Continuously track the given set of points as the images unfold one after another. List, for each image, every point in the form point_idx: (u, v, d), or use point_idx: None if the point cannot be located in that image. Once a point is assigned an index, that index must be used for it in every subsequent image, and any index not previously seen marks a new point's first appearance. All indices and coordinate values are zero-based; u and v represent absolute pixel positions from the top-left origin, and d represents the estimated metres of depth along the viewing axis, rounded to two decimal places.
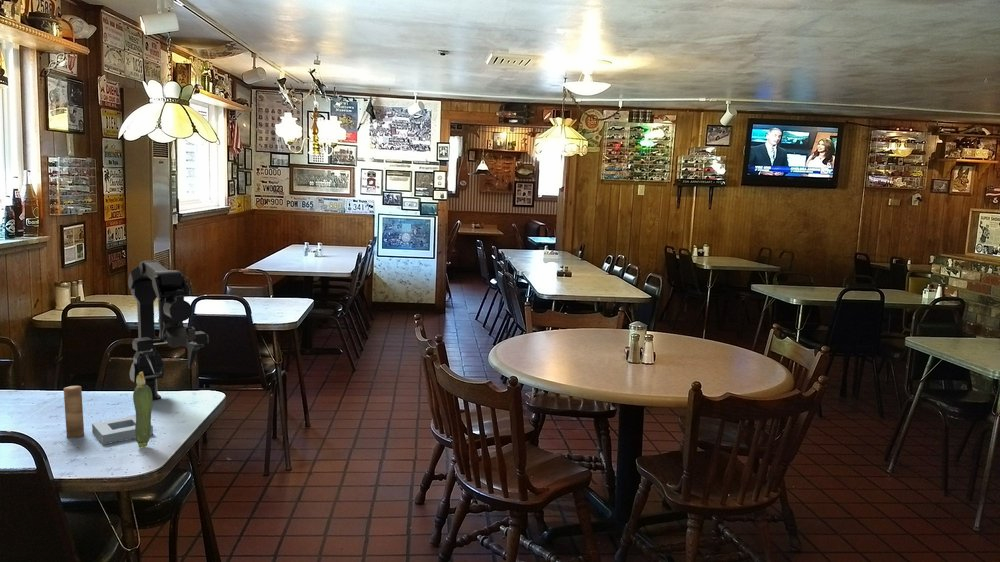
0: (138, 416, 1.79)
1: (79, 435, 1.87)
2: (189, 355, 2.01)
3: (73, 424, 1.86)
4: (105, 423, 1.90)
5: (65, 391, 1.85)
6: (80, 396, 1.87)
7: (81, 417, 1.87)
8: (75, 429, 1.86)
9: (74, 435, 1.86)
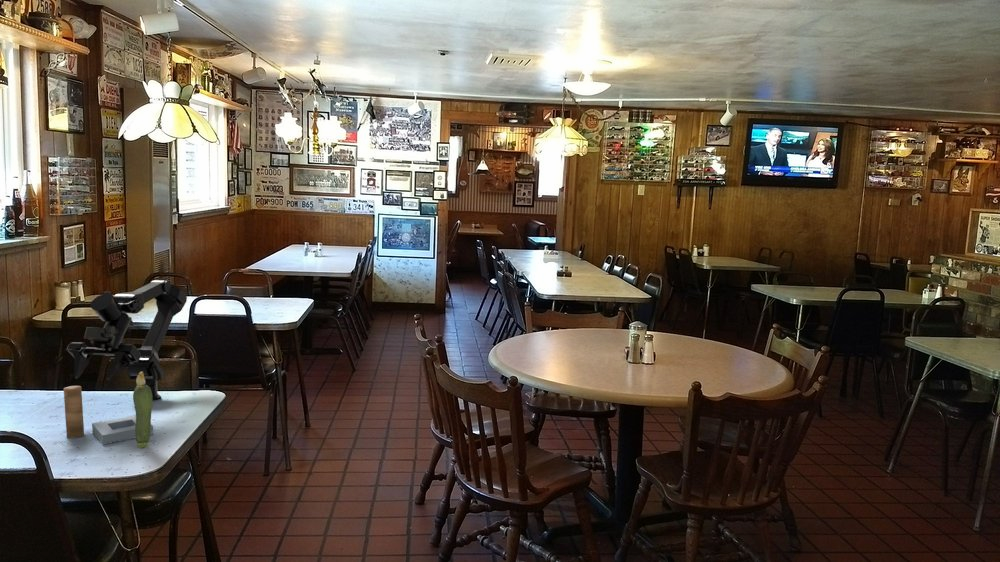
0: (138, 416, 1.79)
1: (79, 435, 1.87)
2: None
3: (73, 424, 1.86)
4: (105, 423, 1.90)
5: (65, 391, 1.85)
6: (80, 396, 1.87)
7: (81, 417, 1.87)
8: (75, 429, 1.86)
9: (74, 435, 1.86)
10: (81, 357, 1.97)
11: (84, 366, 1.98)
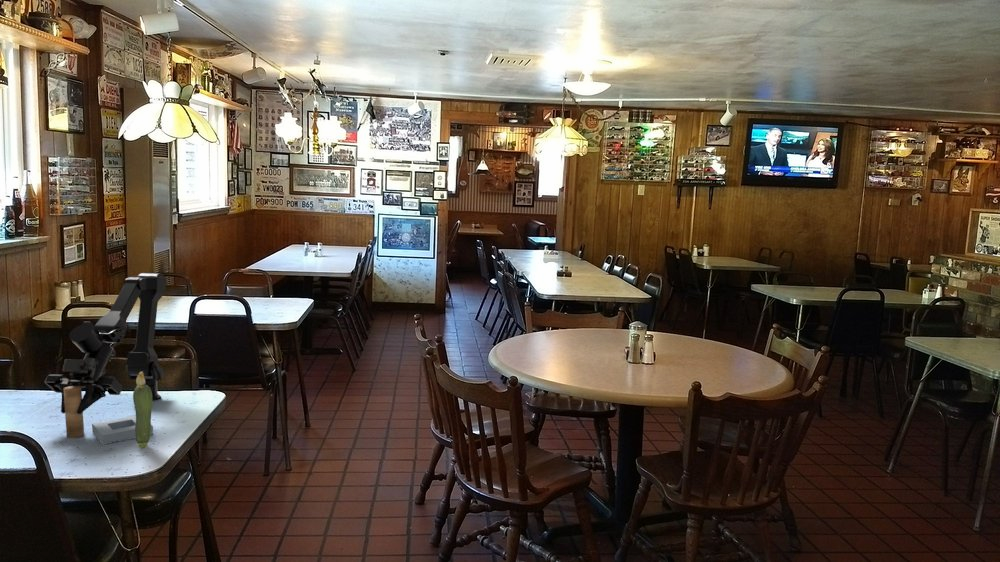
0: (138, 416, 1.79)
1: (79, 435, 1.87)
2: None
3: (73, 424, 1.86)
4: (105, 423, 1.90)
5: (65, 391, 1.85)
6: (80, 396, 1.87)
7: (81, 417, 1.87)
8: (75, 429, 1.86)
9: (74, 435, 1.86)
10: None
11: None
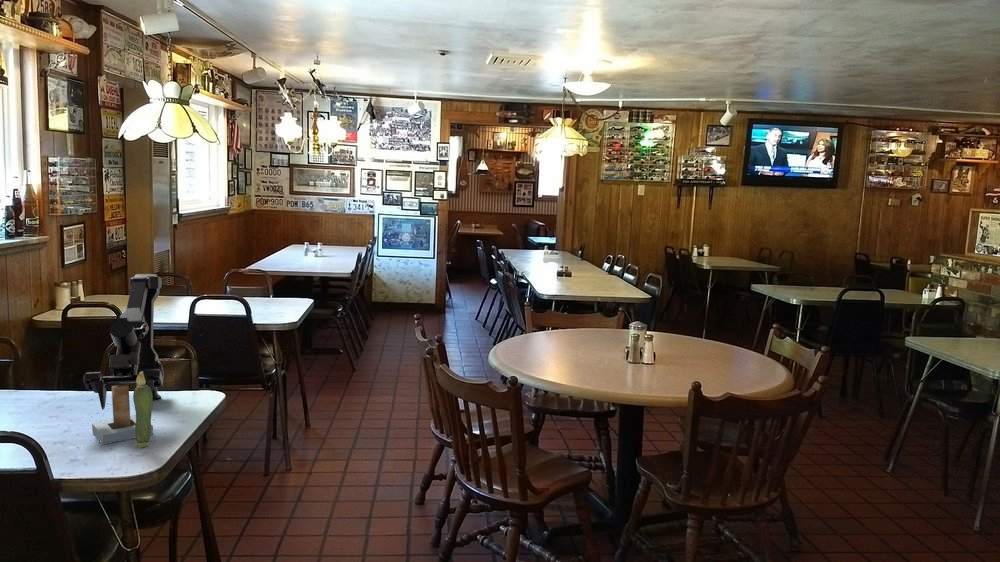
0: (138, 416, 1.79)
1: None
2: None
3: (123, 422, 1.88)
4: (105, 423, 1.90)
5: (115, 390, 1.87)
6: (128, 394, 1.90)
7: (129, 414, 1.90)
8: None
9: None
10: (103, 387, 1.89)
11: (105, 396, 1.90)
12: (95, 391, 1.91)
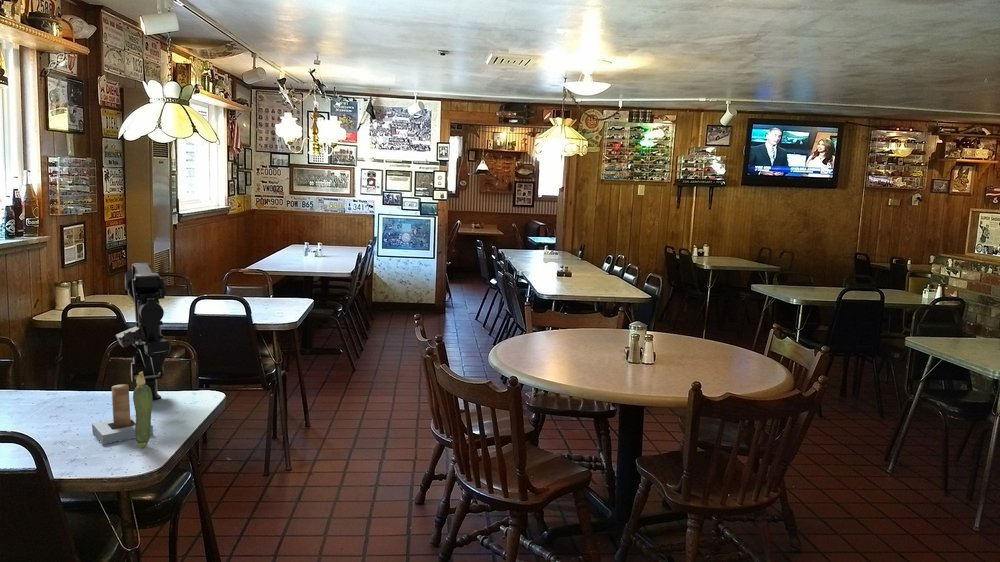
0: (138, 416, 1.79)
1: None
2: None
3: (123, 422, 1.88)
4: (105, 423, 1.90)
5: (115, 390, 1.87)
6: (128, 394, 1.90)
7: (129, 414, 1.90)
8: None
9: None
10: (142, 348, 2.07)
11: None
12: None
